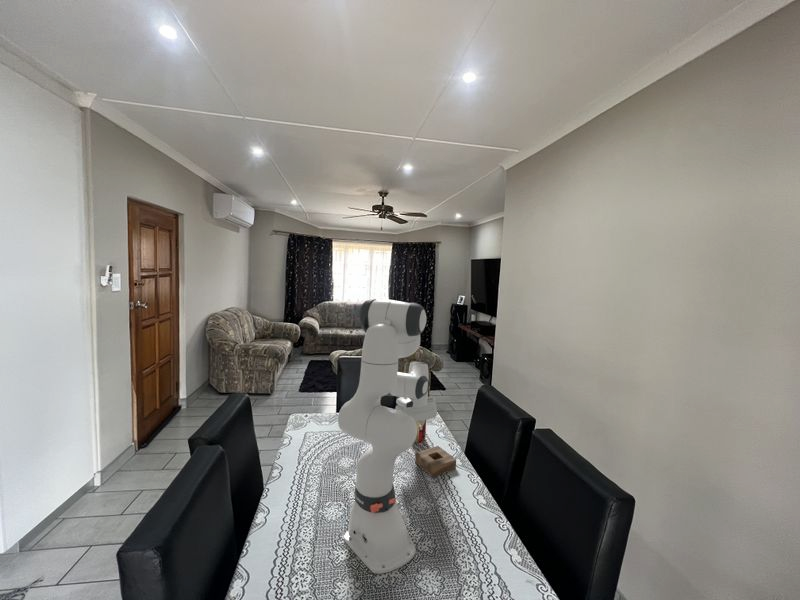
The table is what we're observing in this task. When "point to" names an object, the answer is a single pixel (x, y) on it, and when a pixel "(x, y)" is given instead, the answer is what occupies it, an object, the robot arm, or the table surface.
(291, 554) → the table surface
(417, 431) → the pin
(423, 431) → the canned food
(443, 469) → the socket block
